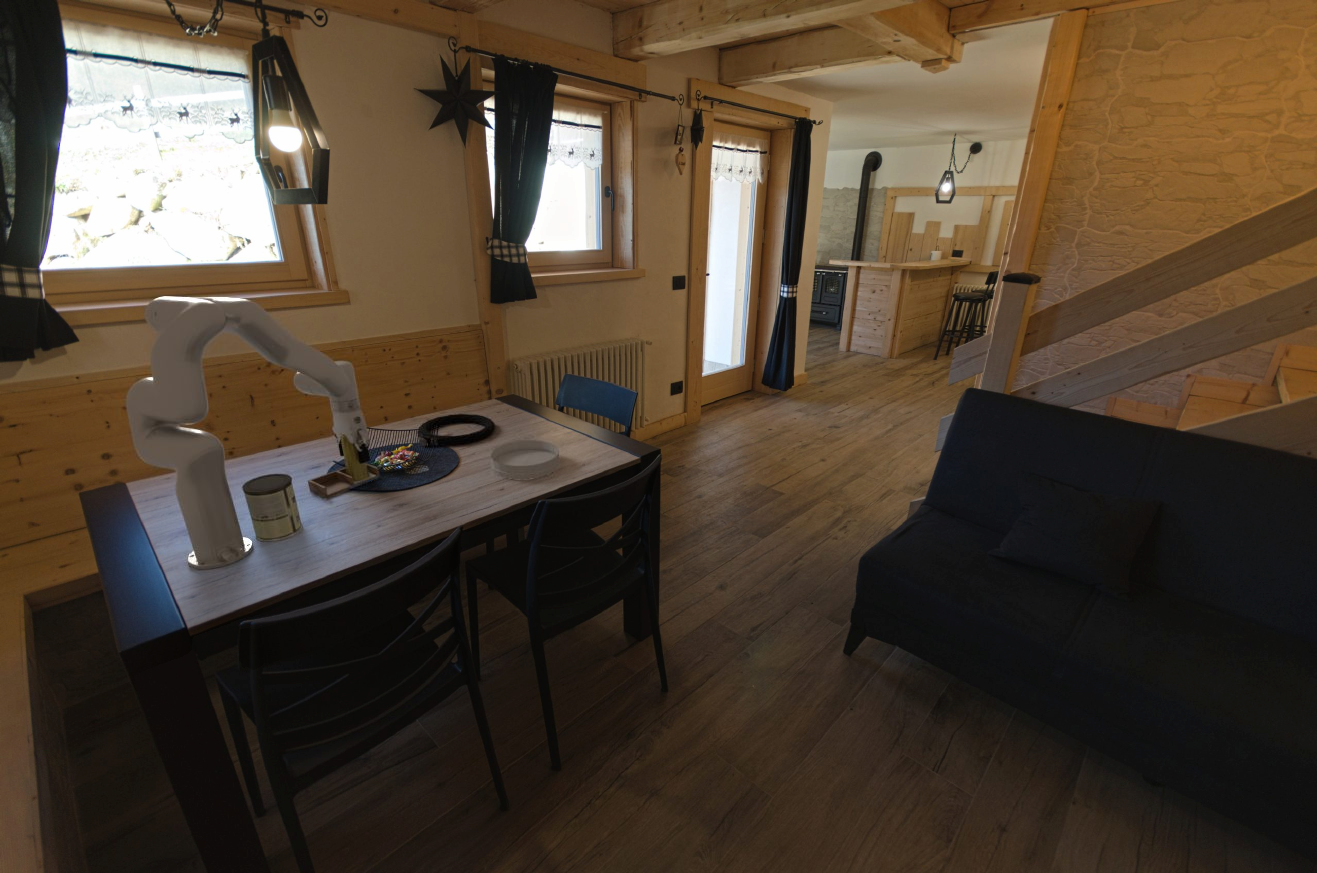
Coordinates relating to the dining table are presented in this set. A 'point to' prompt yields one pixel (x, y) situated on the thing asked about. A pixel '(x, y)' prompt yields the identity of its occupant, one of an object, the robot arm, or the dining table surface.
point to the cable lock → (460, 439)
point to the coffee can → (272, 507)
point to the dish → (525, 459)
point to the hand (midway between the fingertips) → (355, 458)
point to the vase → (353, 460)
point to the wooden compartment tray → (338, 482)
